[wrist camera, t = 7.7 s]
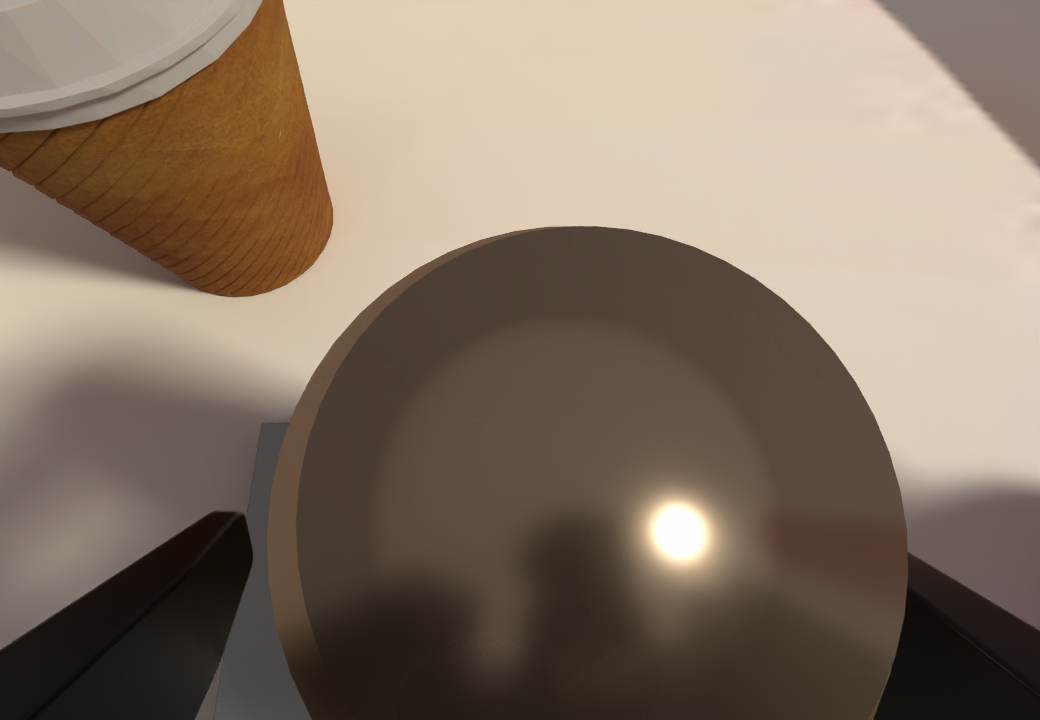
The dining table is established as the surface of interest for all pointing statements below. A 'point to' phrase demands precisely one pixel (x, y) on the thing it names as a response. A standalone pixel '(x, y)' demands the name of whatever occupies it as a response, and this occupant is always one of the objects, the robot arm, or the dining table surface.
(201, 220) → the disposable coffee cup
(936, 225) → the dining table surface
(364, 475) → the metal can
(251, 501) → the gear board
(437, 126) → the dining table surface
